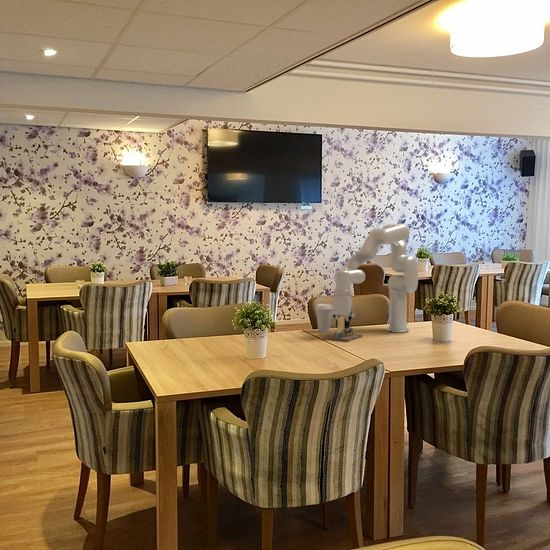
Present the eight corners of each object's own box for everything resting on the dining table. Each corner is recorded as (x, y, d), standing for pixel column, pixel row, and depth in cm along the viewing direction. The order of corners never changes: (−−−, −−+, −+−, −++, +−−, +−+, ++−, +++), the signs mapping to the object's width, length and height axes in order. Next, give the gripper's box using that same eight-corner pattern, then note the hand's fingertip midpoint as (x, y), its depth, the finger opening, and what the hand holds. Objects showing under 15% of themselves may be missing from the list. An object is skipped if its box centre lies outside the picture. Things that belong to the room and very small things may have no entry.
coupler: (340, 327, 332) (340, 316, 332) (348, 328, 329) (348, 316, 329) (337, 328, 329) (337, 317, 328) (344, 329, 326) (345, 317, 326)
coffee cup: (312, 330, 352) (312, 304, 351) (327, 329, 356) (327, 303, 355) (320, 333, 343) (320, 306, 342) (335, 332, 347) (335, 305, 346)
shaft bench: (338, 334, 341) (339, 325, 341) (362, 336, 333) (362, 328, 333) (322, 339, 326) (322, 330, 326) (346, 342, 318) (347, 333, 318)
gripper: (325, 293, 329) (325, 327, 331) (354, 295, 320) (354, 330, 321) (332, 291, 335) (331, 325, 337) (360, 293, 326) (360, 328, 328)
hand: (342, 327), depth 329 cm, fingers closed on coupler, 4 cm apart
